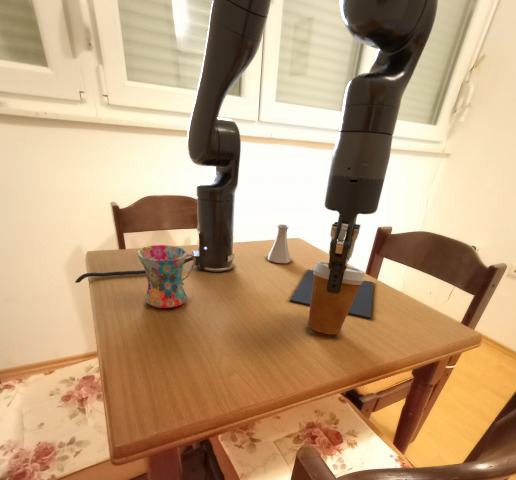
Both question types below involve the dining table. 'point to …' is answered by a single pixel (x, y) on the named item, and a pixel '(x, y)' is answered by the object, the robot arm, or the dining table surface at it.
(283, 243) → the flask
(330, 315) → the disposable coffee cup
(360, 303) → the mat
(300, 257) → the dining table surface
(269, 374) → the dining table surface
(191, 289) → the dining table surface
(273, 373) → the dining table surface
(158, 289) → the mug
